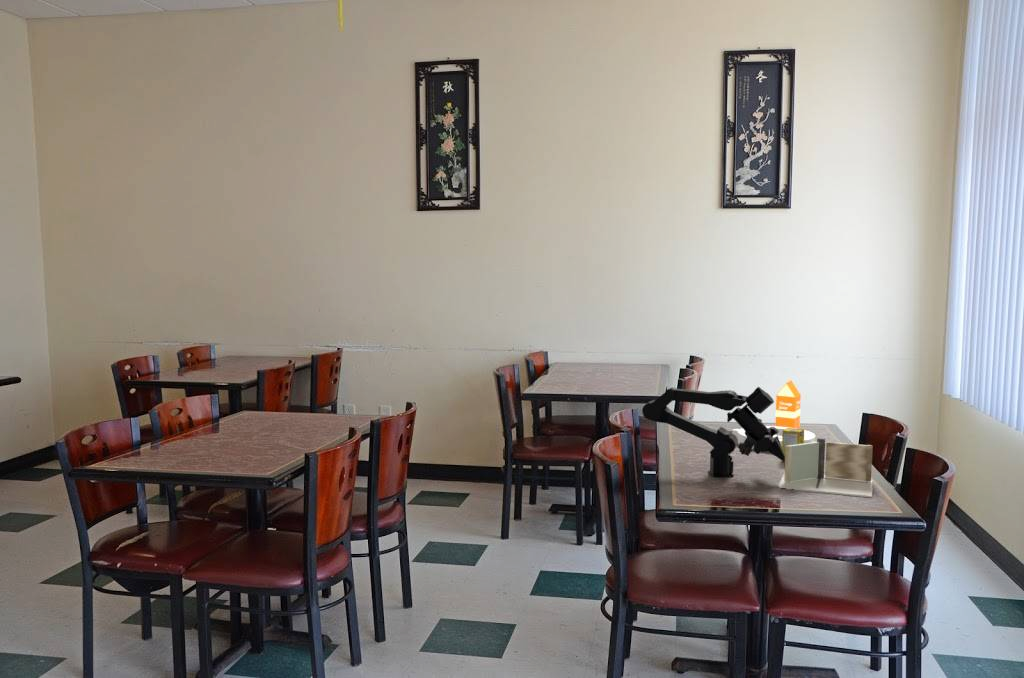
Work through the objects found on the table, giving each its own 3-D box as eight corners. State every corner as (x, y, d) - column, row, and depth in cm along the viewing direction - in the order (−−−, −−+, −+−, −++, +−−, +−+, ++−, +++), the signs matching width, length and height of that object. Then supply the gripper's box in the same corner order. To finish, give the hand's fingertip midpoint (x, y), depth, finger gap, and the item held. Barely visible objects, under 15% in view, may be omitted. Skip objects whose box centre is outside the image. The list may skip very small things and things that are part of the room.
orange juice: (799, 429, 354) (801, 381, 352) (794, 433, 347) (795, 383, 345) (780, 427, 358) (782, 379, 356) (774, 431, 351) (776, 382, 349)
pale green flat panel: (783, 481, 270) (784, 445, 269) (814, 476, 276) (815, 441, 275) (787, 482, 268) (788, 446, 267) (818, 477, 274) (819, 442, 273)
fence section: (815, 479, 275) (816, 439, 274) (816, 477, 277) (817, 437, 276) (870, 484, 269) (872, 443, 267) (871, 483, 271) (872, 442, 270)
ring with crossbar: (825, 454, 312) (826, 441, 311) (747, 454, 312) (748, 441, 312) (801, 438, 340) (801, 426, 339) (729, 437, 340) (730, 425, 340)
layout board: (778, 488, 265) (778, 486, 265) (784, 472, 284) (784, 470, 284) (871, 497, 255) (872, 495, 254) (872, 480, 274) (872, 478, 274)
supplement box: (803, 460, 301) (804, 429, 300) (798, 463, 296) (799, 432, 295) (786, 457, 305) (787, 427, 304) (781, 461, 300) (782, 430, 299)
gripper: (735, 433, 287) (769, 469, 284) (726, 444, 270) (762, 483, 267) (760, 411, 283) (795, 448, 280) (753, 422, 266) (789, 460, 263)
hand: (784, 460), depth 273 cm, fingers closed
